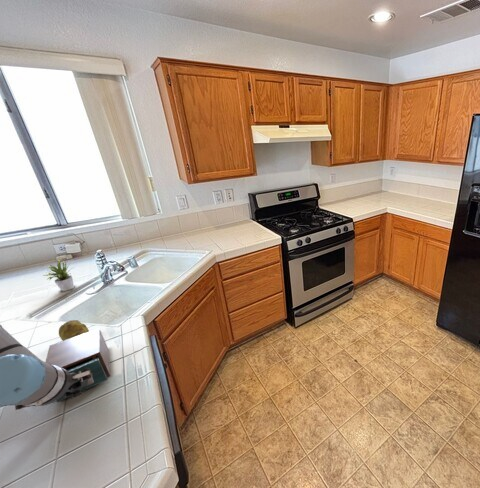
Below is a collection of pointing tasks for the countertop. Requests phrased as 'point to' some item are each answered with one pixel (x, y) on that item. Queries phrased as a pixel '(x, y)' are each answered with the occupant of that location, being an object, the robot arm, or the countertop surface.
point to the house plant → (61, 277)
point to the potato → (72, 329)
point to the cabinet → (80, 350)
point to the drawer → (95, 370)
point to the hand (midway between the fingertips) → (76, 391)
